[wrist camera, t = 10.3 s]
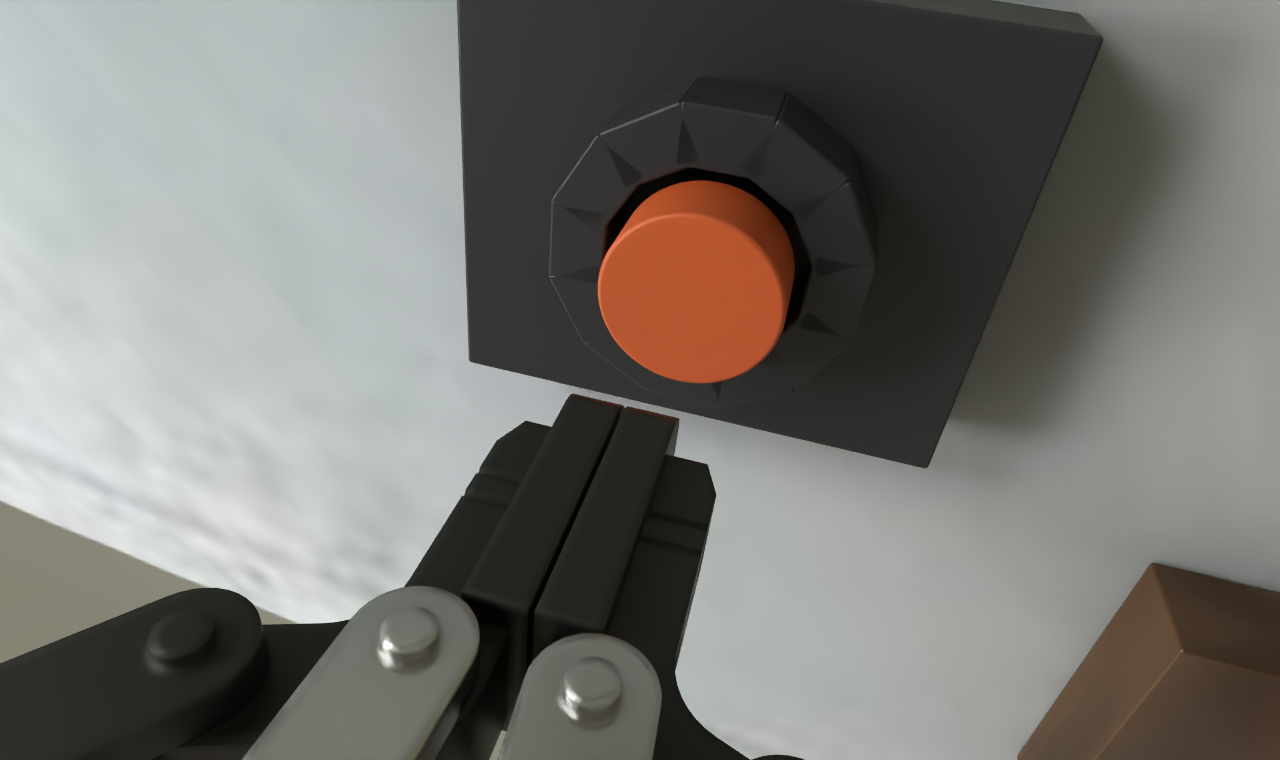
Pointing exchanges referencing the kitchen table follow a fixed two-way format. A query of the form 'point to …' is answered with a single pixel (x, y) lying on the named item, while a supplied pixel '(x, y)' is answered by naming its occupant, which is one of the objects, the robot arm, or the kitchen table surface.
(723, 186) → the button
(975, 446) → the kitchen table surface
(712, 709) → the kitchen table surface
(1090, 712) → the base
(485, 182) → the push button box
